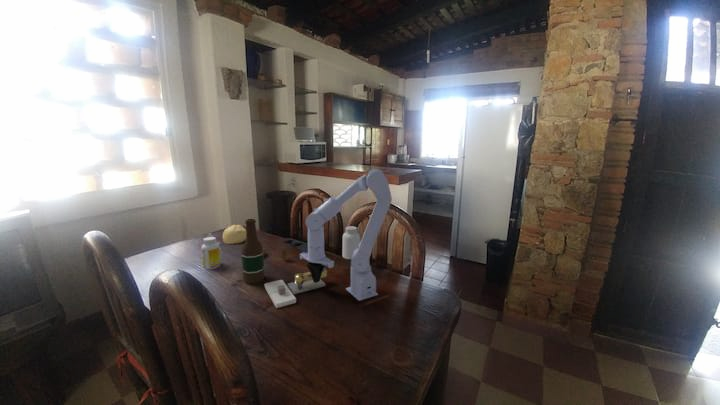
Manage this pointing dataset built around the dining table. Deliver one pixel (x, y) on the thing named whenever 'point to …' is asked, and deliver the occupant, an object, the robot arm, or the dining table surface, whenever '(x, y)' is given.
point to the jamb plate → (305, 286)
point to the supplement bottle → (210, 253)
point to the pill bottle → (350, 241)
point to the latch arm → (307, 277)
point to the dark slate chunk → (297, 244)
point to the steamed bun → (234, 234)
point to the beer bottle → (252, 255)
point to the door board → (280, 297)
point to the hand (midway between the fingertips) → (316, 281)
